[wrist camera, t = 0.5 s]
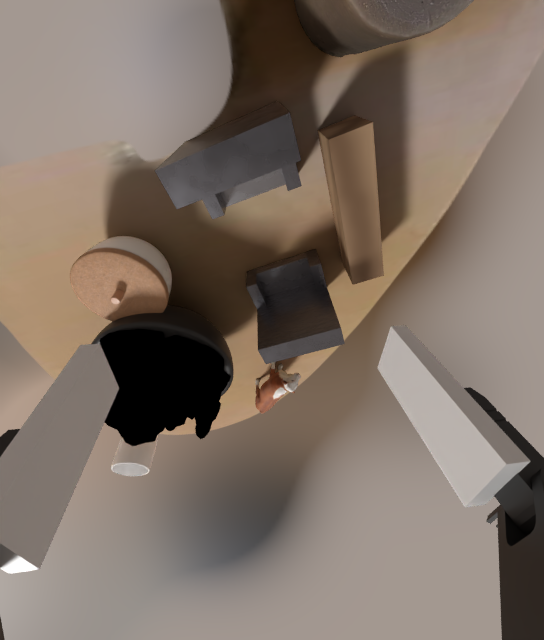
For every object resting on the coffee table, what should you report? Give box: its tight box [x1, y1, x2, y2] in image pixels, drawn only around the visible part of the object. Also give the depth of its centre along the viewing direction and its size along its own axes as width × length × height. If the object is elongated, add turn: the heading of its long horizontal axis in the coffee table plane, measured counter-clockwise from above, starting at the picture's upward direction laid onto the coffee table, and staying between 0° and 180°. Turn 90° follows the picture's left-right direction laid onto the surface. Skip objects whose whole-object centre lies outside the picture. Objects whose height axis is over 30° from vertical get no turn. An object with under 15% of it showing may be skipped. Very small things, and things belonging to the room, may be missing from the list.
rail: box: [318, 115, 384, 284], centre depth 32 cm, size 4×17×6 cm, turn 19°
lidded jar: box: [70, 236, 172, 321], centre depth 35 cm, size 11×11×9 cm
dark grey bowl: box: [92, 305, 233, 446], centre depth 40 cm, size 20×20×19 cm
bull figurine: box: [256, 362, 301, 413], centre depth 53 cm, size 4×13×8 cm, turn 149°
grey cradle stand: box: [155, 101, 344, 364], centre depth 32 cm, size 10×24×12 cm, turn 19°
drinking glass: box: [111, 435, 158, 476], centre depth 55 cm, size 7×7×15 cm
